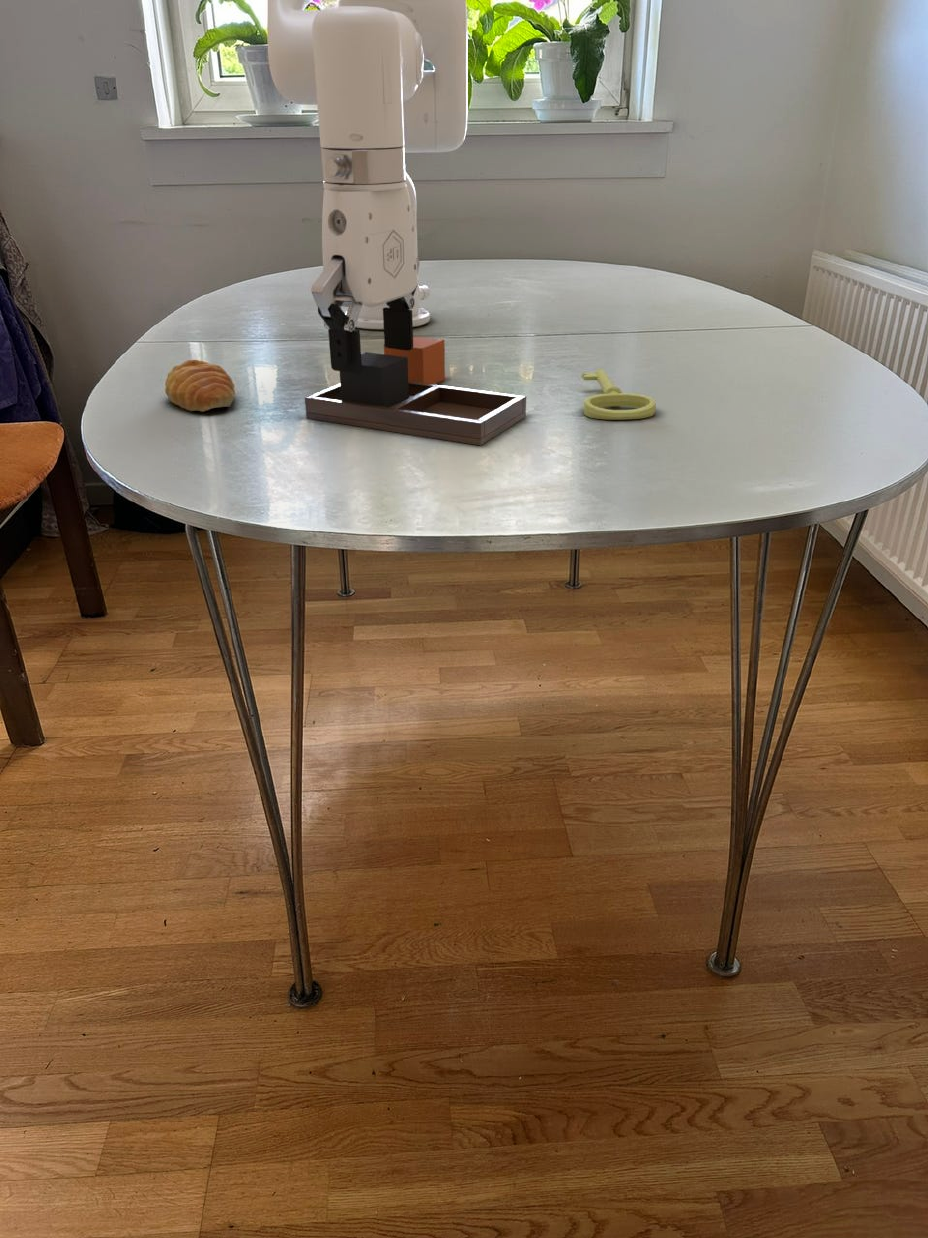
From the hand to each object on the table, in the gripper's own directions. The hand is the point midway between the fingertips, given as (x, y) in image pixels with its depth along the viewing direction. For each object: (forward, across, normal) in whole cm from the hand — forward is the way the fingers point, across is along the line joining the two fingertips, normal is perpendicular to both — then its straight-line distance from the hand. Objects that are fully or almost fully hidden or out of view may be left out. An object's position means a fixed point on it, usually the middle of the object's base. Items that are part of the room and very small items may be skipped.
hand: (373, 359), depth 92 cm
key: (+5, +12, -21) cm, 25 cm away
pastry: (+5, -6, +18) cm, 20 cm away
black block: (+4, -1, 0) cm, 4 cm away
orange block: (+5, +11, +2) cm, 13 cm away
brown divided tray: (+5, -1, -5) cm, 7 cm away
